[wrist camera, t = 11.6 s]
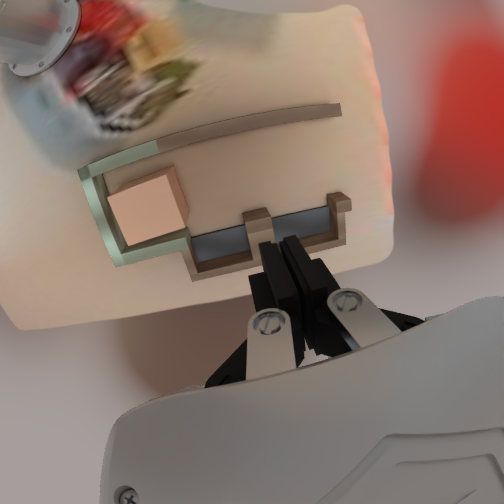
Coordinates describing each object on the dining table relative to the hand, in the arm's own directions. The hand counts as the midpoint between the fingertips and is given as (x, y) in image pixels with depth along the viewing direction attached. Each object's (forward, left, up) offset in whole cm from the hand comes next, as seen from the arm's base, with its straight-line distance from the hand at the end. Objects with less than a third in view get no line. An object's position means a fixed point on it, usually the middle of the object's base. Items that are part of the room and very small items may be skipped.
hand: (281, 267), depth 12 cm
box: (+2, -3, -22) cm, 22 cm away
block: (+1, -11, -22) cm, 24 cm away
